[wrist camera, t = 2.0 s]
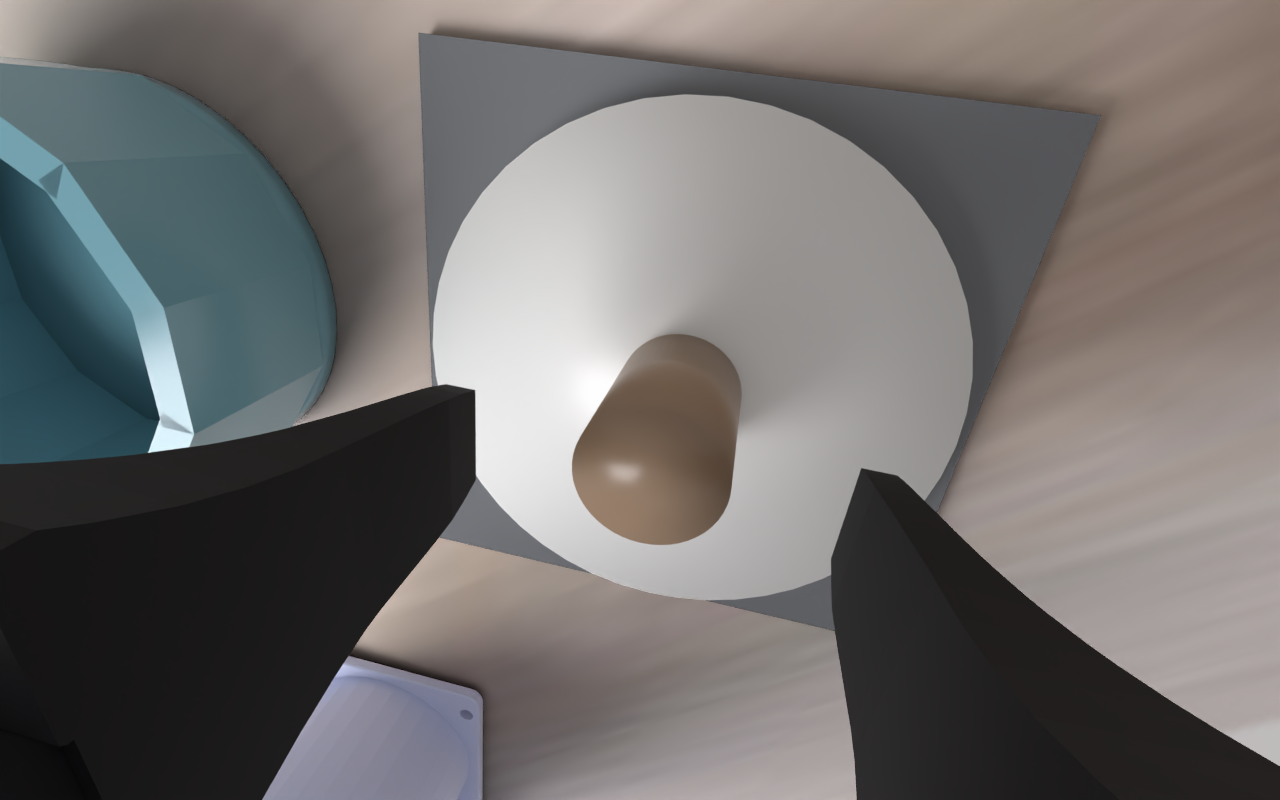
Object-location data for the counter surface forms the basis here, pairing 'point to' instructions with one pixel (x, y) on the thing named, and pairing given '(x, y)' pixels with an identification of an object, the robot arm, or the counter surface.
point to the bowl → (146, 273)
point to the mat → (868, 117)
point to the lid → (701, 342)
